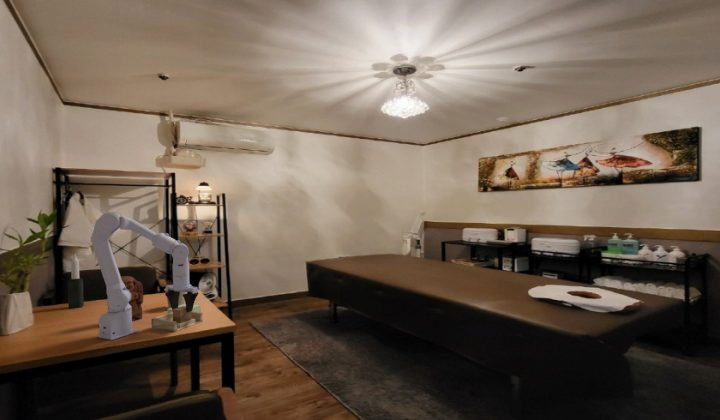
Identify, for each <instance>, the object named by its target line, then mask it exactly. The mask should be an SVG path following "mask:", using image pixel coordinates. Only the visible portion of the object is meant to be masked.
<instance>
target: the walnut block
mask: <svg viewBox="0 0 720 420" xmlns="http://www.w3.org/2000/svg"><path fill="white" fill-rule="evenodd" d="M189 320H191V311H190V312H187V311H186V306H182V307H179V308H175V309H173V321H176V322H177V323H180V324H181V323H184V322H186V321H189Z"/></svg>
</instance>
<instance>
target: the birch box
mask: <svg viewBox="0 0 720 420" xmlns="http://www.w3.org/2000/svg"><path fill="white" fill-rule="evenodd" d="M150 320H151V321H150V322H151V323H150V324H151V329H154V330H160V331H166V332H172V333H176V332H178V331H181V330H183V329H186V328H189V327H192V326H194V325H197V324H200V323H201V322H203V312H193V311H191V320H189V321H186V322H184V323H181V324H180V323H177V322H176V321H173V312H172V313H169V314H168V313H166V314H163V315H159V316H156V317H153V318H151V319H150ZM199 322H200V323H199Z"/></svg>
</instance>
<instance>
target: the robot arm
mask: <svg viewBox="0 0 720 420" xmlns="http://www.w3.org/2000/svg"><path fill="white" fill-rule="evenodd" d="M118 230H120V231H121V230H123V231H125V230H126V231H127V230H128V231H132V232H134V233H136V234H138V235H139V236H141V237H144V238H145V239H147V240H149V241H150V242H151V244H152V246H153V247H154V248H156V249H158V250H160V251H162V252H163V253H166V254H168V255H171V256H172V262H173V263H172V285H171V284H168V285H166V286H165V289H166V291H168V292H167V293H166V292H165V293H164V294H165V295H164V296H166V299H167V298H168V300H169V302H170V305H171V308H172V310H173V309H175V308H178V303H179V295H180V292H185V294H183V297H184V304H186V311H187V312H190V311H192V310H193V305H195V302H196V299H197V297H198V295H199V292H198V290H199V288H198V287H197V286H192V284H191V283H190V262H189V260H190V259H189V254H190V251H189V250H190V249H189V248H188V247H189V246H188V245H186V244H185V243H182V242H181V240H179V239H178V240H176V239H175V238H172V237H171V236H170V234H169V233H167V232H165V233H164V232H158V233H156V232H155V231H153V230H151V229H150V228H148V227H146V226H145V225H143V224H142V223H140V222H139V221H137V220H135V219H133V218H130V217H129V216H127V215H123V214H121V213H119V212H111V211H110V212H105V213H102V215H101V216H99V218H97V220H96V221H95V225H94V228H93V231H92V234H91V236H90V241H91V242H90V243H91V245H92V247H93V251H94V253H95V257H96V259H97V263H98V266H99V268H100V271H101V274H102V278H103V280H104V283H105V286H106V295H107V300H106V306H107V312H105V313H103V314H101V315H100V316H99V319H98V325H99V327H98V330H99V331H98V332H99V333H98V334H99V335H98V337H97V338H99V339H106V340H110V341H113V340H117V339H119V338H123V337H125V336H128V335H132V334H134V333H137V332H138V329H134V328H133V321H132V306H130V305H129V301H130V300H131V293H130V291H129V290H127V289H126V287H125V284H124V283H123V281H122V279H121V277H122V276H121V273H120V270H119V268H118V267H119V266H118V265H117V262H116V258H115V255H114V253H113V250H112V247H111V244H110V241H109V240H110V239H111V237H112V236H113V235H114V233H115V232H116V231H118ZM108 308H109V309H108Z"/></svg>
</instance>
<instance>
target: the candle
mask: <svg viewBox="0 0 720 420" xmlns="http://www.w3.org/2000/svg"><path fill="white" fill-rule="evenodd" d="M70 269H71V270H70V271H71V277H70V278H69V279H68V281H67V290H68V291H67V300H68V309H69V310H71V309H72V310H73V309H80V308H83V307H84V305H85V304H84V303H85V300H84V298H85V297H84V279H83V277H80V261H79V259H78V257H77V254H76V253H74V254H73V257H72V260H70Z"/></svg>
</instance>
